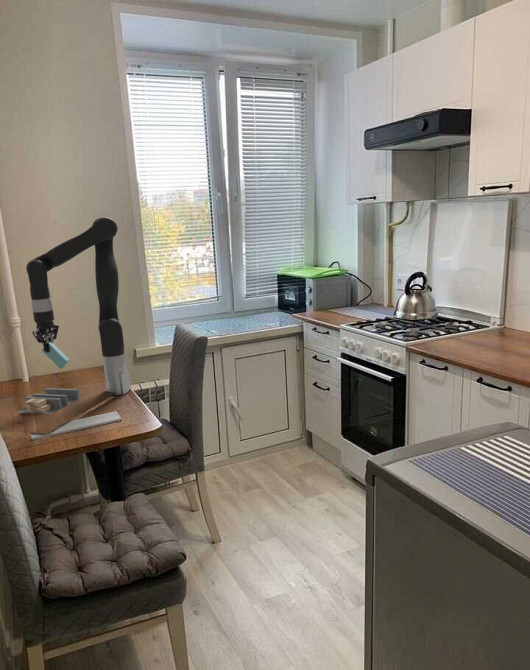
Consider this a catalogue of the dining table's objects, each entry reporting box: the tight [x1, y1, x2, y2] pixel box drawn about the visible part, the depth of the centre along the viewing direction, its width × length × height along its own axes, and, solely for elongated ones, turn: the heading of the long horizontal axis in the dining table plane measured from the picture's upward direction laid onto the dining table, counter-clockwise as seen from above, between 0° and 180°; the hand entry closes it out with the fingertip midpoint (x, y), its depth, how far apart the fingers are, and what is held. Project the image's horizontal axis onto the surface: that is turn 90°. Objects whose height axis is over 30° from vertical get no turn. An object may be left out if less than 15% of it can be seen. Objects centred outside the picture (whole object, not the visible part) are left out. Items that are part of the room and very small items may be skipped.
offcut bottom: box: [26, 404, 51, 413], centre depth 201 cm, size 8×4×2 cm, turn 74°
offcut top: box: [24, 399, 47, 408], centre depth 201 cm, size 7×4×2 cm, turn 74°
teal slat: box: [41, 341, 70, 370], centre depth 207 cm, size 5×2×11 cm
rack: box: [18, 387, 81, 415], centre depth 207 cm, size 16×18×6 cm
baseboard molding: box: [30, 409, 122, 441], centre depth 188 cm, size 31×3×12 cm
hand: (49, 351), depth 207 cm, fingers closed on teal slat, 1 cm apart
